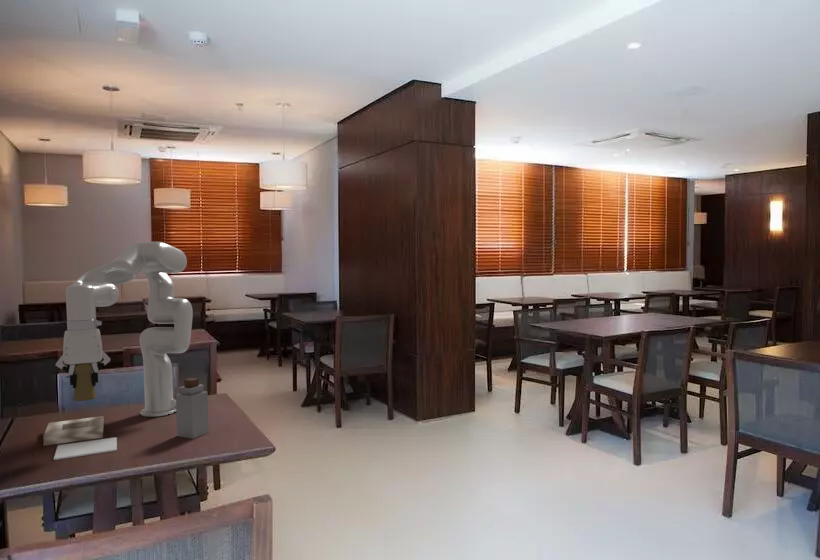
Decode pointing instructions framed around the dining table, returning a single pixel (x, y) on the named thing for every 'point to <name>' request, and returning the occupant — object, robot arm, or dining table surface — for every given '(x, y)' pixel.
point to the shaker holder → (74, 430)
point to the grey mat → (86, 448)
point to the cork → (84, 383)
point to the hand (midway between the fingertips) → (84, 385)
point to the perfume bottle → (192, 409)
